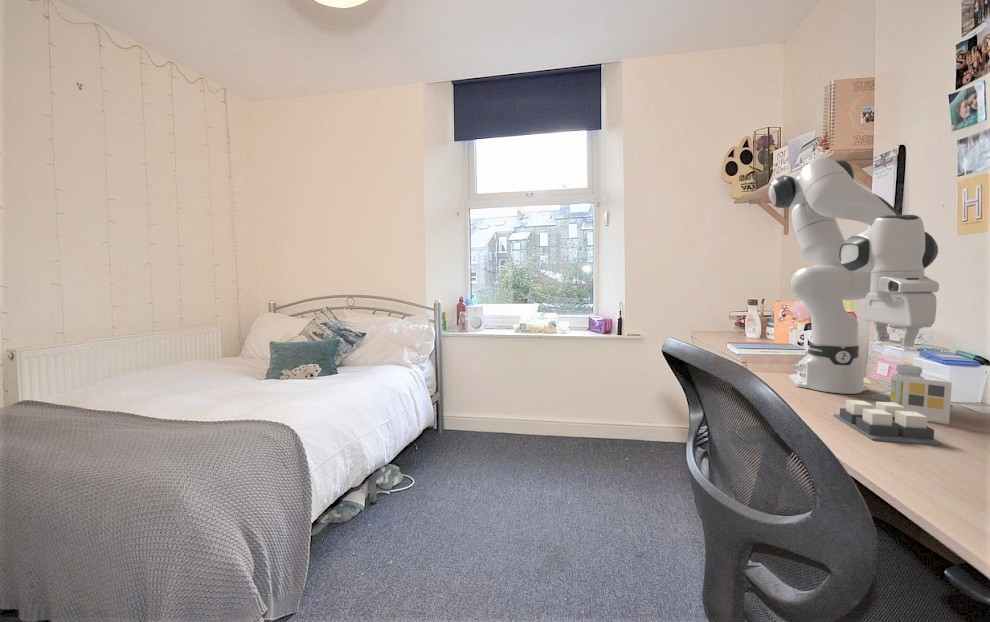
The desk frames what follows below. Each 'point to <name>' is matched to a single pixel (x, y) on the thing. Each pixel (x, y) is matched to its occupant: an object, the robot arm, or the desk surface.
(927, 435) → the button board
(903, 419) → the button
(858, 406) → the button
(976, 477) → the desk surface
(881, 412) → the button
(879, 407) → the button
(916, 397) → the card
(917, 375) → the pill bottle
